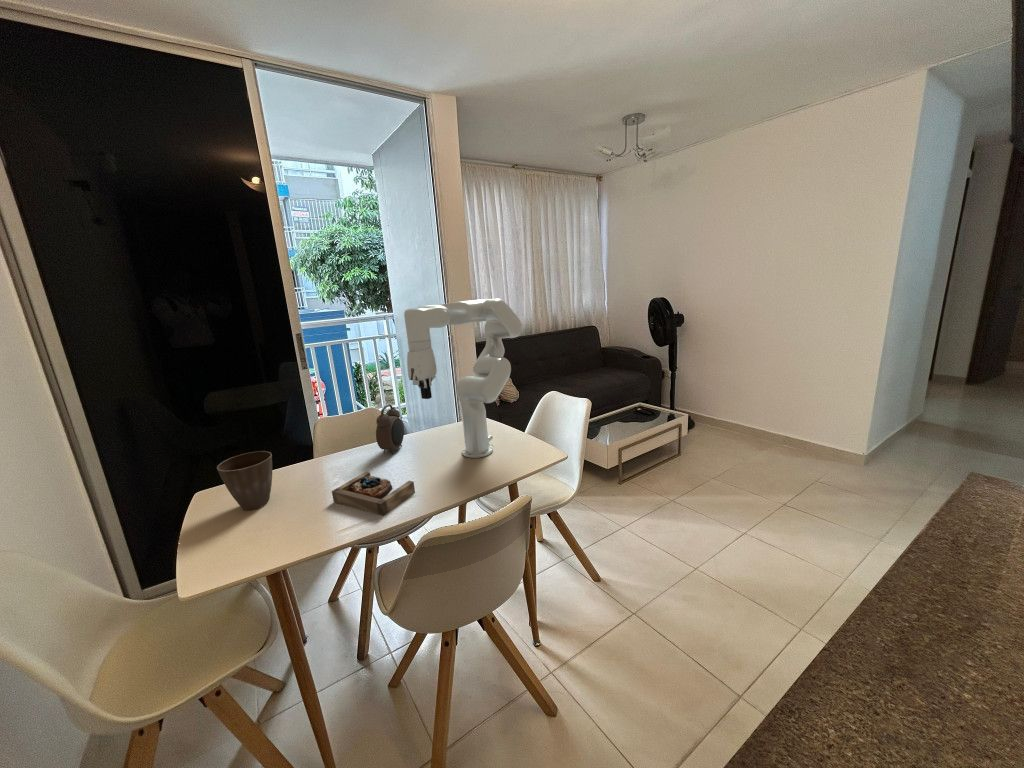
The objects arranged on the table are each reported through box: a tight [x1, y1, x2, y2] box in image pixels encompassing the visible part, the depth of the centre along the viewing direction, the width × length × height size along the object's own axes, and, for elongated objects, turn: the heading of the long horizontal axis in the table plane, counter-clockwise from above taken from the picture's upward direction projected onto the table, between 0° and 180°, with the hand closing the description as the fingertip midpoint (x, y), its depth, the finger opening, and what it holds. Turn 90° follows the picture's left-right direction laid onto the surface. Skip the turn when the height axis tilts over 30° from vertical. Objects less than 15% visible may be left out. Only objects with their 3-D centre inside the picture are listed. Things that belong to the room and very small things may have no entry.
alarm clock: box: [375, 404, 405, 455], centre depth 164 cm, size 15×7×20 cm, turn 171°
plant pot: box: [216, 450, 273, 511], centre depth 128 cm, size 15×15×16 cm
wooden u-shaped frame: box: [331, 471, 416, 516], centre depth 128 cm, size 14×22×4 cm, turn 63°
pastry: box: [350, 475, 393, 499], centre depth 131 cm, size 11×12×6 cm
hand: (426, 398), depth 134 cm, fingers closed
